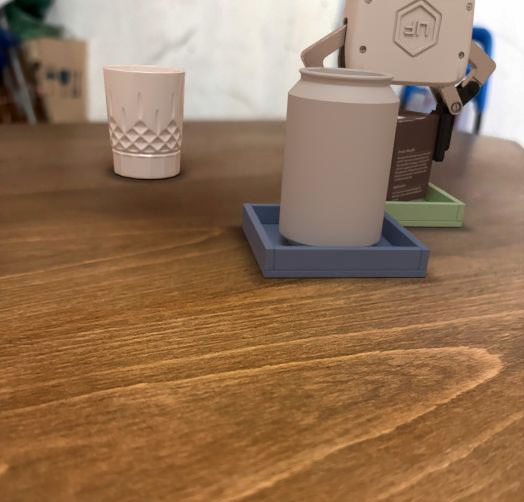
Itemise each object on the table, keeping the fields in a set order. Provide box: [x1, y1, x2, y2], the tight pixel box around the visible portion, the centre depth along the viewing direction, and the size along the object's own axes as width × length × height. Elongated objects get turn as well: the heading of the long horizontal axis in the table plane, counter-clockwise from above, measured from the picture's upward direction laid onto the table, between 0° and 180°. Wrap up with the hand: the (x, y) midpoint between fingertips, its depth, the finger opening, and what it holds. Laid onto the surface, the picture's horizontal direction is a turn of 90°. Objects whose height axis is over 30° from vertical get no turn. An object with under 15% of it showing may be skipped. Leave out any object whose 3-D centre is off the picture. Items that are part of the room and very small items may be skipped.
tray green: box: [384, 181, 466, 228], centre depth 61 cm, size 11×11×2 cm
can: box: [279, 66, 401, 247], centre depth 47 cm, size 8×8×12 cm
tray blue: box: [241, 202, 431, 279], centre depth 49 cm, size 11×11×2 cm
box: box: [386, 108, 440, 202], centre depth 59 cm, size 6×6×7 cm
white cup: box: [102, 64, 186, 180], centre depth 67 cm, size 8×8×10 cm
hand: (386, 156), depth 59 cm, fingers closed on box, 8 cm apart
